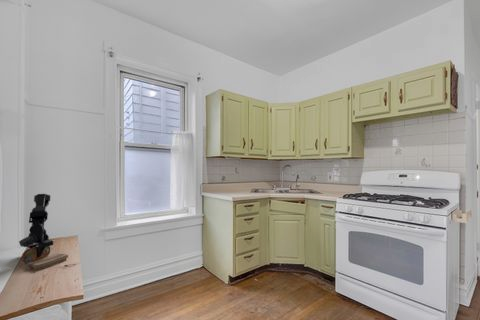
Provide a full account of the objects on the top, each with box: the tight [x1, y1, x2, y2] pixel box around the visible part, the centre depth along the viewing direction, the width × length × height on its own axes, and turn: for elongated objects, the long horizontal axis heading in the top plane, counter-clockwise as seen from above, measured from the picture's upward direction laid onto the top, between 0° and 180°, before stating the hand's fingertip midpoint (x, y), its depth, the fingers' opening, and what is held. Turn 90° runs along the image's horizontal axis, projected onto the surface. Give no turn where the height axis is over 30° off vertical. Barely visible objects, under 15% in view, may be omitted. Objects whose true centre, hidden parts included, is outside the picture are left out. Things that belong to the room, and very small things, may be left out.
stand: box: [26, 253, 69, 271], centre depth 139 cm, size 8×17×3 cm, turn 165°
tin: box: [21, 246, 51, 264], centre depth 144 cm, size 15×3×8 cm, turn 168°
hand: (36, 257), depth 144 cm, fingers open, 3 cm apart
